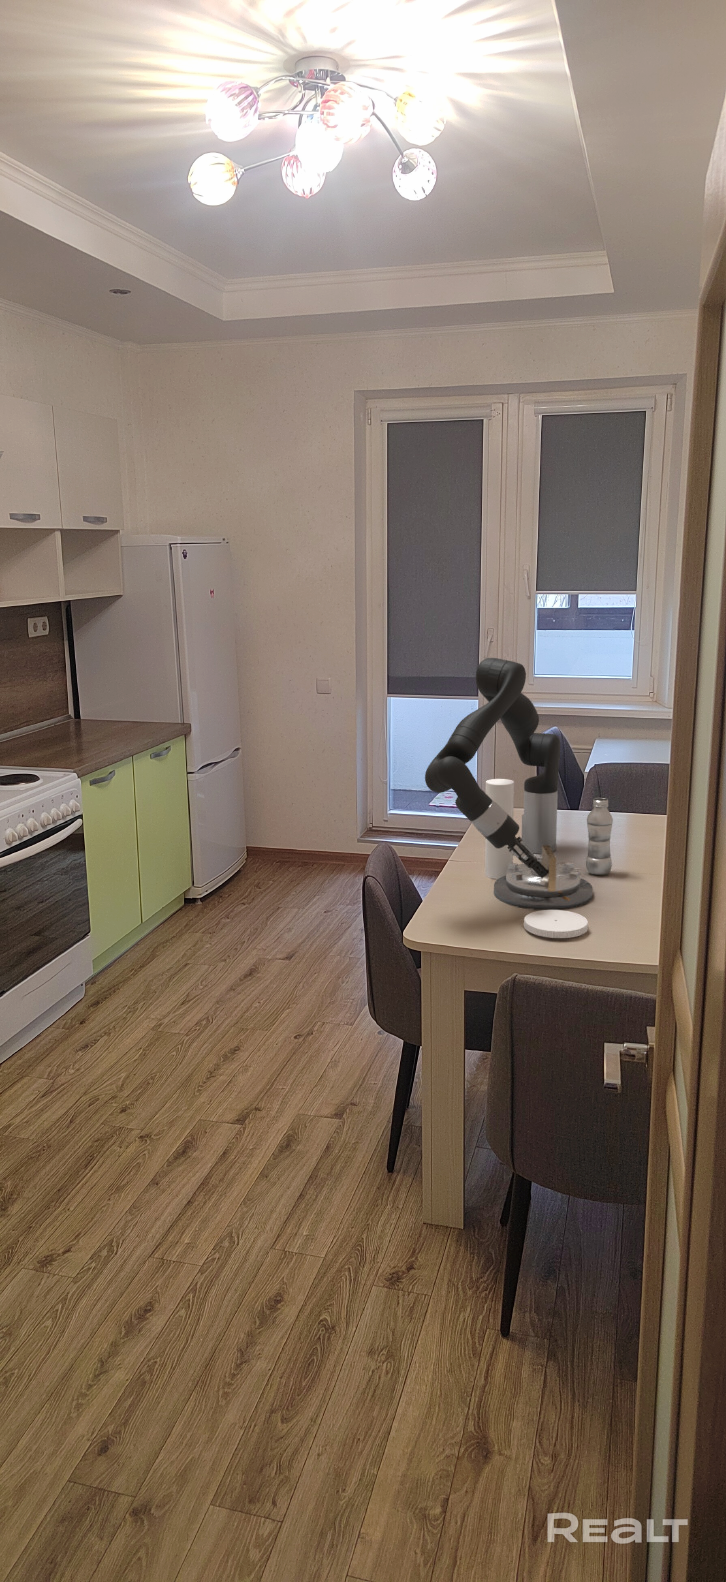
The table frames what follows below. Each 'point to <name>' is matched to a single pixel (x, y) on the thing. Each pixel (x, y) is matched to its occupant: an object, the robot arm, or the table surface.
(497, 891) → the base plate
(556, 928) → the plastic lid
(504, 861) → the cylindrical container
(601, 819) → the plastic bottle
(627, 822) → the table surface
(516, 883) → the round mechanism with board
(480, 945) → the table surface
